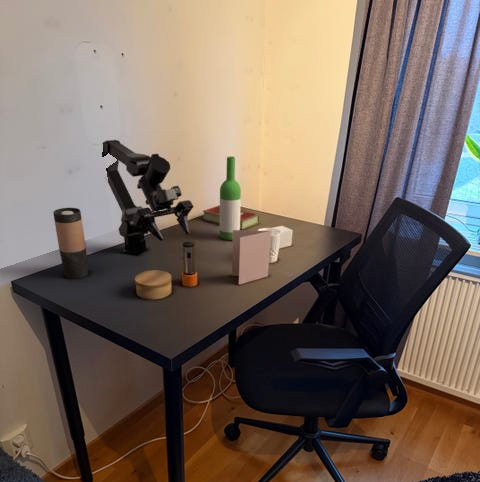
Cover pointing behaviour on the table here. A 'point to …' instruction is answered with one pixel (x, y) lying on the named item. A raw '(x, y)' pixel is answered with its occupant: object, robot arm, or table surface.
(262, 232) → the greeting card
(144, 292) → the birch box
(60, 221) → the travel mug
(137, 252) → the robot arm
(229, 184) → the wine bottle
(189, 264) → the torch
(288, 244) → the cream cube
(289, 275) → the table surface
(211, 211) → the hardcover book
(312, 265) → the table surface
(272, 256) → the white cup
